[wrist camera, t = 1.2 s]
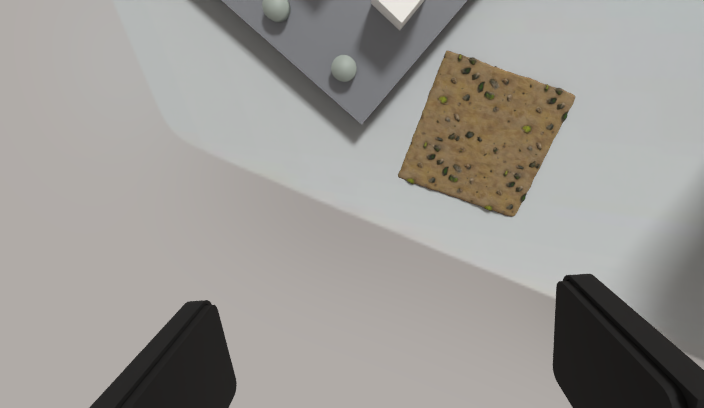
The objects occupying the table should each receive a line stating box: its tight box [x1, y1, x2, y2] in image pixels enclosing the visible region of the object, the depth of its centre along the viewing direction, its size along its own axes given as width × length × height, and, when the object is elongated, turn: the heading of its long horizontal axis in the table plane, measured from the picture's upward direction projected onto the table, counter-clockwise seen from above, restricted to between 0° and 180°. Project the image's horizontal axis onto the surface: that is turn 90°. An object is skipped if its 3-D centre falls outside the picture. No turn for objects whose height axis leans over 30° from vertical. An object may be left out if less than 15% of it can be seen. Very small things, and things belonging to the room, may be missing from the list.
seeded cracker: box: [398, 51, 575, 216], centre depth 32 cm, size 12×12×1 cm
